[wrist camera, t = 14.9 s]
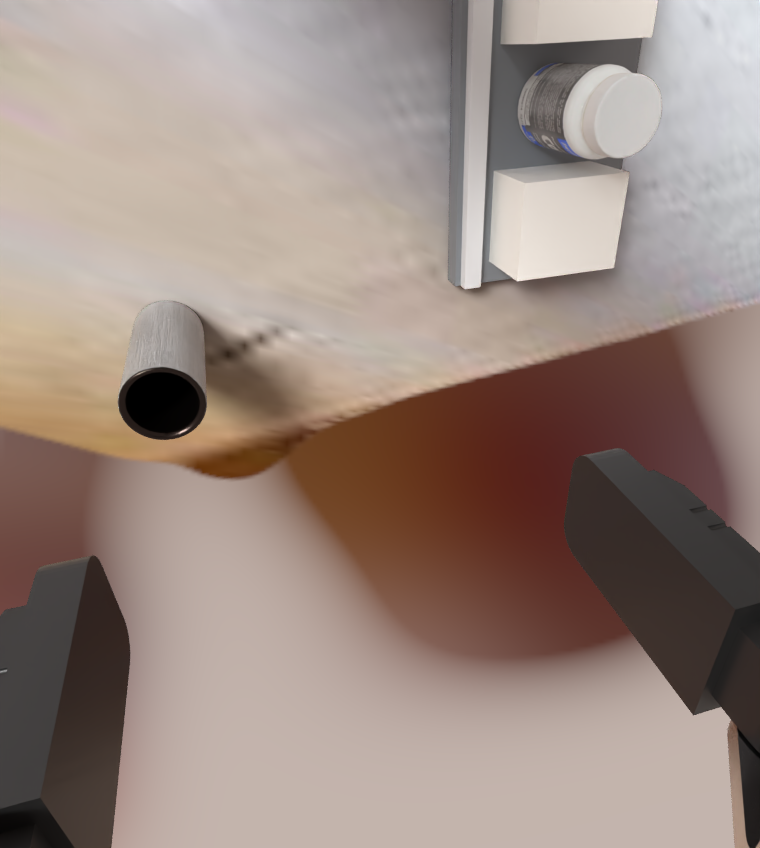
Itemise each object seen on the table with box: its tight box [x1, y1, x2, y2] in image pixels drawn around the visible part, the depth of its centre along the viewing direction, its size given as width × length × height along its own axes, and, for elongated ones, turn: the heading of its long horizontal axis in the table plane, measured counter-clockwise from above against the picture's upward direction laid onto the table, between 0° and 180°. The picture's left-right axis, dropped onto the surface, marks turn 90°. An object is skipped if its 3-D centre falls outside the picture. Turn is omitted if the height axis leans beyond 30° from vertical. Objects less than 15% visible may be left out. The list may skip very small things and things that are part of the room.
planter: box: [118, 301, 207, 440], centre depth 37 cm, size 4×4×10 cm
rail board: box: [448, 0, 658, 289], centre depth 37 cm, size 22×12×6 cm, turn 3°
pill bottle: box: [518, 63, 662, 159], centre depth 35 cm, size 5×5×8 cm
